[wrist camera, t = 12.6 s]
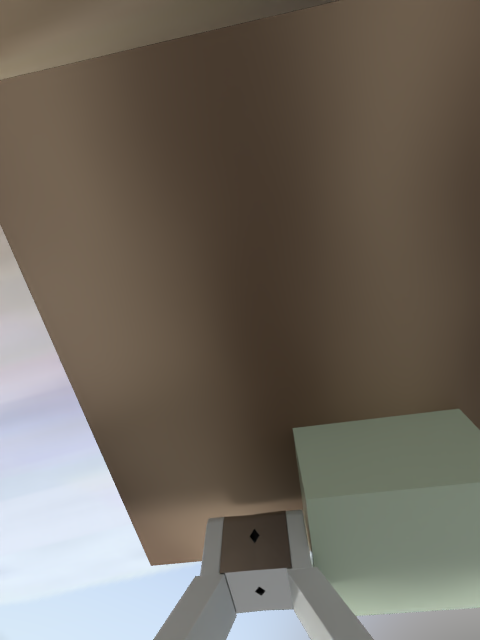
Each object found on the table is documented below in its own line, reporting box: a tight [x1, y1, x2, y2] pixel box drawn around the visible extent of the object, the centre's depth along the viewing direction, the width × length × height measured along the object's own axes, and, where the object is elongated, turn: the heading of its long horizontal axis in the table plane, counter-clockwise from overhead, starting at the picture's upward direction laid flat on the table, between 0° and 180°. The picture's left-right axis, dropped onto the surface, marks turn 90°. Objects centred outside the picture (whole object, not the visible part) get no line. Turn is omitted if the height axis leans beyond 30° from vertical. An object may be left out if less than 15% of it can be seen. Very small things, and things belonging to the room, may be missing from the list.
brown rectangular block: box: [0, 0, 480, 566], centre depth 12 cm, size 12×16×6 cm
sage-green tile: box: [293, 409, 480, 616], centre depth 10 cm, size 5×5×2 cm
